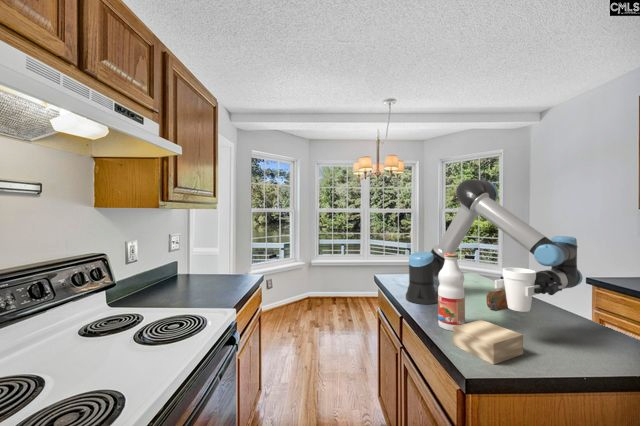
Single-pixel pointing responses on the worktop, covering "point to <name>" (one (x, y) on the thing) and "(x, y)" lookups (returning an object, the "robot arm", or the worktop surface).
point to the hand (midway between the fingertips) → (510, 287)
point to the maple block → (488, 341)
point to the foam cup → (518, 287)
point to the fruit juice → (451, 294)
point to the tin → (497, 299)
